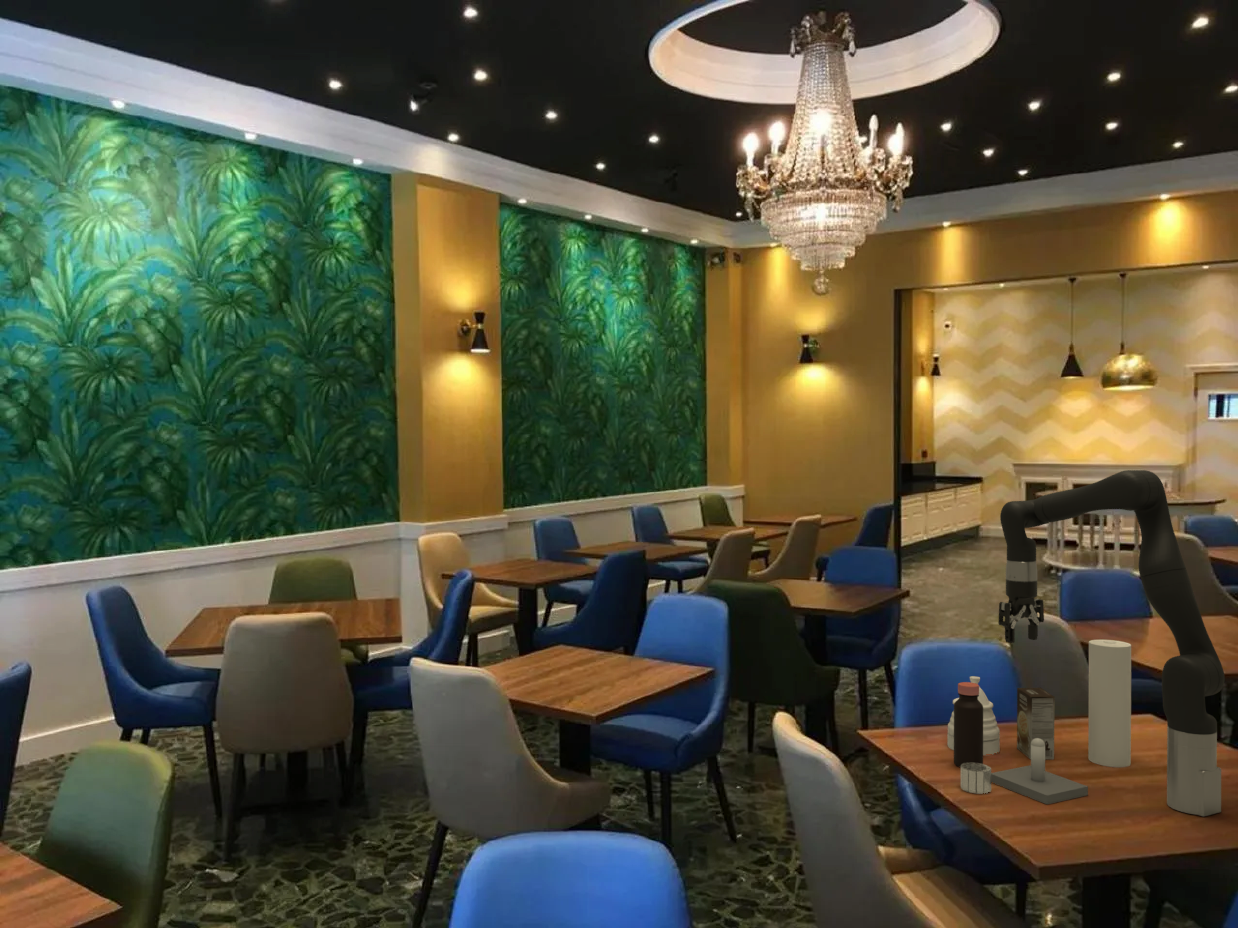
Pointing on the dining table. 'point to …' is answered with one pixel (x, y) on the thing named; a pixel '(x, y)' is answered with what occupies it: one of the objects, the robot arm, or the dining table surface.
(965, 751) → the bottle
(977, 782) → the ring
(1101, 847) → the dining table surface
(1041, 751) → the piston block
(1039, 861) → the dining table surface
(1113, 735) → the cylinder container
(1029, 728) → the coffee box
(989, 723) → the honey pot
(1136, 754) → the dining table surface
